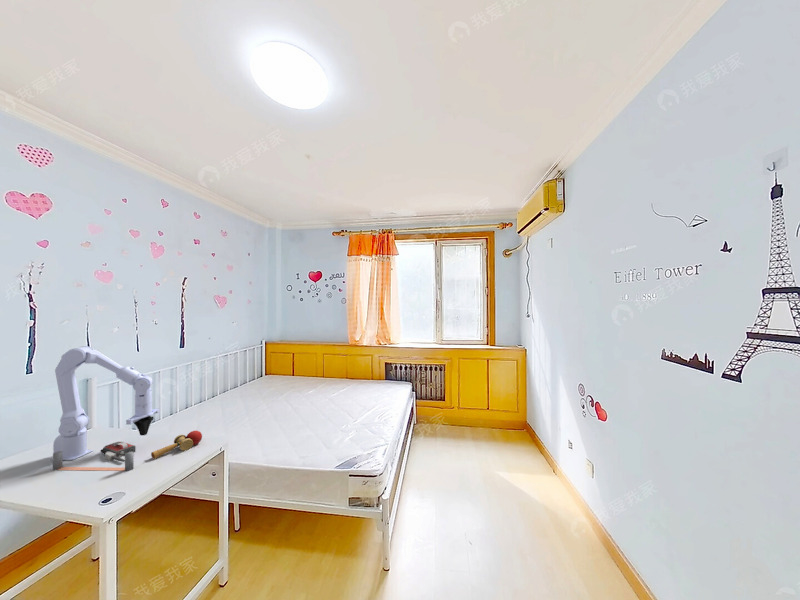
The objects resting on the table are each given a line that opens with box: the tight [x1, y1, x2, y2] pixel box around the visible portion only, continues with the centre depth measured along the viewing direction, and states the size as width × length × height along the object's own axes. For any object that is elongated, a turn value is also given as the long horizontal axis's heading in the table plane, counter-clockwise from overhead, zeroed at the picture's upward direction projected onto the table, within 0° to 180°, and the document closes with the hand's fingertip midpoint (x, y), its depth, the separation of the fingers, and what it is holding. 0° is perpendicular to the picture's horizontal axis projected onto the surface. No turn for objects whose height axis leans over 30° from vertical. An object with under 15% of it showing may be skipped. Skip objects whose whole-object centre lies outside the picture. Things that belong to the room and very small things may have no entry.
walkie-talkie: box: [100, 441, 136, 463], centre depth 126 cm, size 9×4×20 cm
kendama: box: [150, 430, 203, 460], centre depth 129 cm, size 8×6×18 cm
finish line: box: [52, 451, 135, 472], centre depth 115 cm, size 30×2×6 cm, turn 87°
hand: (143, 434), depth 136 cm, fingers closed
